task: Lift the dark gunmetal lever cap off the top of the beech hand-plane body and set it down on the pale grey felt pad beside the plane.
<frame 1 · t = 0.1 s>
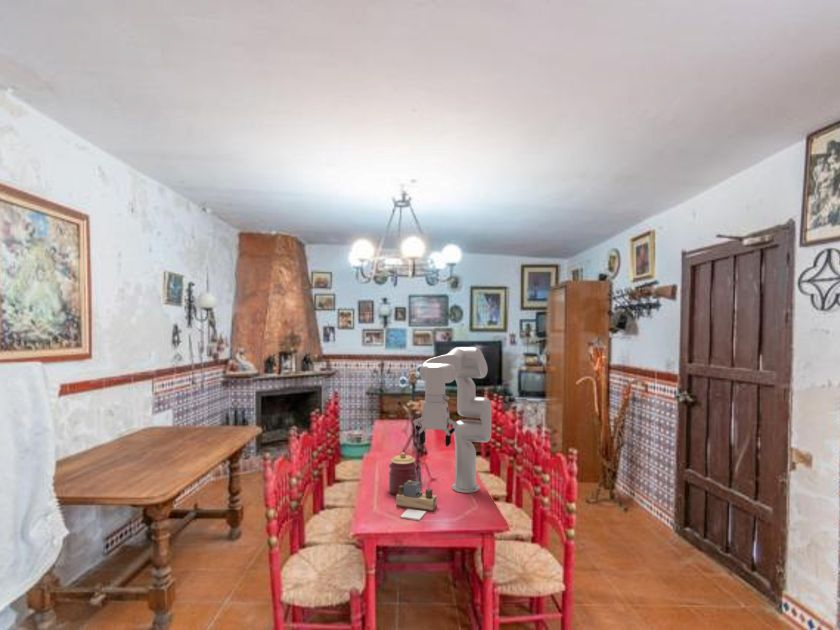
hand: (435, 444, 174), 31 cm above the table, fingers open, 9 cm apart
canister: (403, 491, 212), on the table
plane body: (416, 506, 195), on the table
felt pad: (413, 515, 185), on the table
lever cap: (412, 494, 195), point 4 cm above the table, touching plane body
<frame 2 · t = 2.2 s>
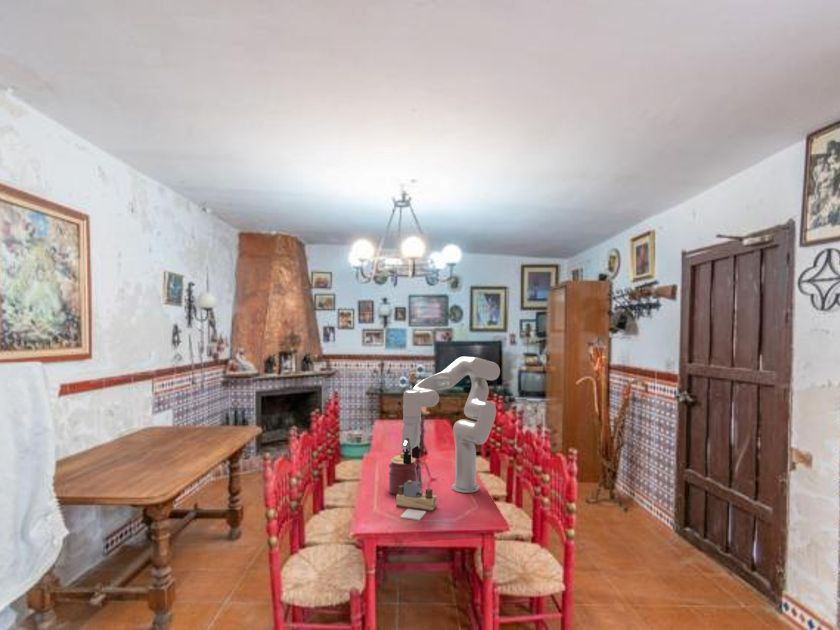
hand: (411, 460, 195), 19 cm above the table, fingers open, 9 cm apart
nothing on the table moved.
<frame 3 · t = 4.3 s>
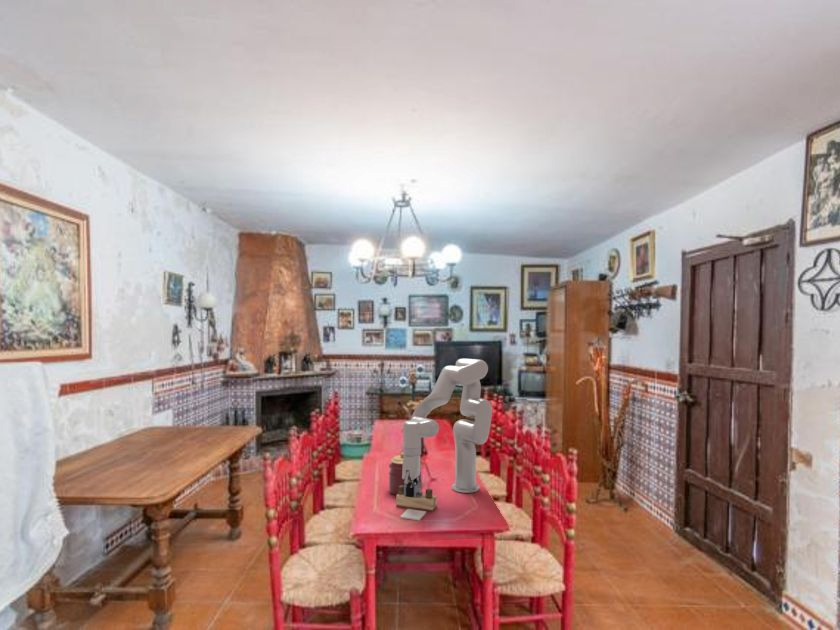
hand: (412, 493, 195), 5 cm above the table, fingers closed on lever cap, 5 cm apart
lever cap: (412, 494, 195), point 4 cm above the table, touching gripper, plane body
everything else where it was.
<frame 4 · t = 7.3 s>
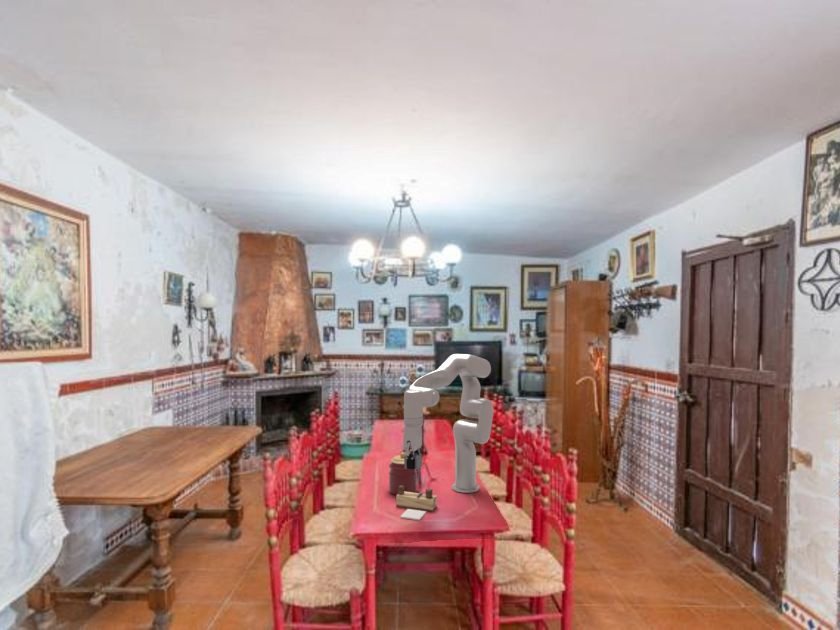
hand: (413, 466, 186), 19 cm above the table, fingers closed on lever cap, 5 cm apart
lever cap: (413, 467, 186), point 19 cm above the table, touching gripper
everything else where it was.
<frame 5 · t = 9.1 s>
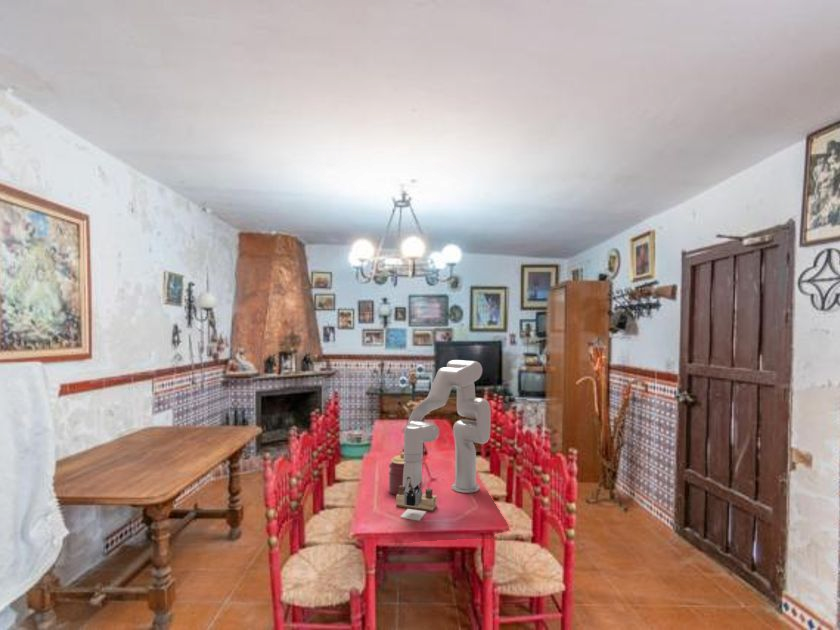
hand: (413, 502, 185), 5 cm above the table, fingers closed on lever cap, 5 cm apart
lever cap: (412, 503, 185), point 5 cm above the table, touching gripper
everything else where it was.
when the fingers open (3 cm above the table, at t = 10.4 s): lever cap drops 2 cm, resting on felt pad.
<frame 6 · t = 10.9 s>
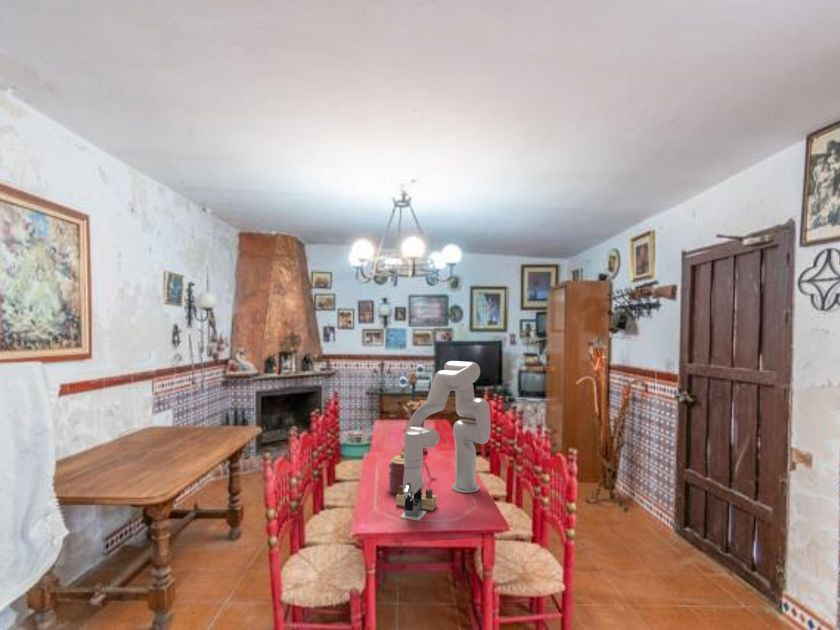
hand: (413, 505, 186), 4 cm above the table, fingers open, 9 cm apart
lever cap: (413, 513, 186), point 1 cm above the table, touching felt pad
everything else where it was.
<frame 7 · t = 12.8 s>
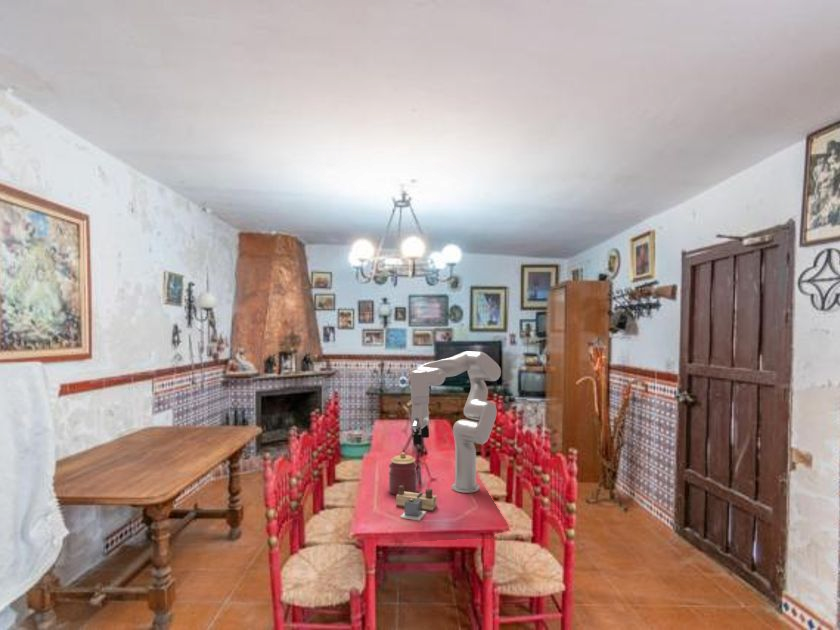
hand: (421, 440, 194), 28 cm above the table, fingers open, 9 cm apart
nothing on the table moved.
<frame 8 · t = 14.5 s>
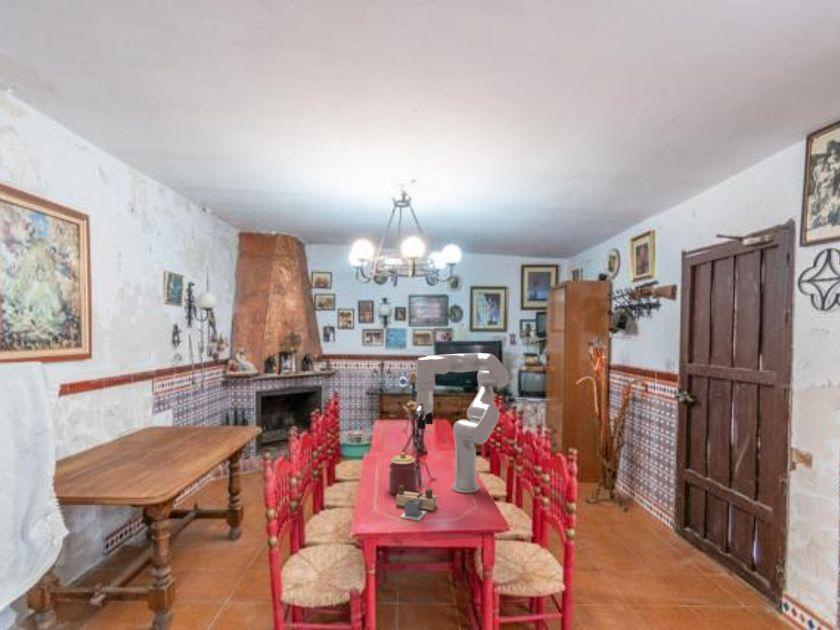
hand: (425, 426, 200), 32 cm above the table, fingers open, 9 cm apart
nothing on the table moved.
at the end: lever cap inside the target area on the felt pad (0.1 cm from its centre), point 0.6 cm above the felt pad's base; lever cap tilted 0°; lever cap touching felt pad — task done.
